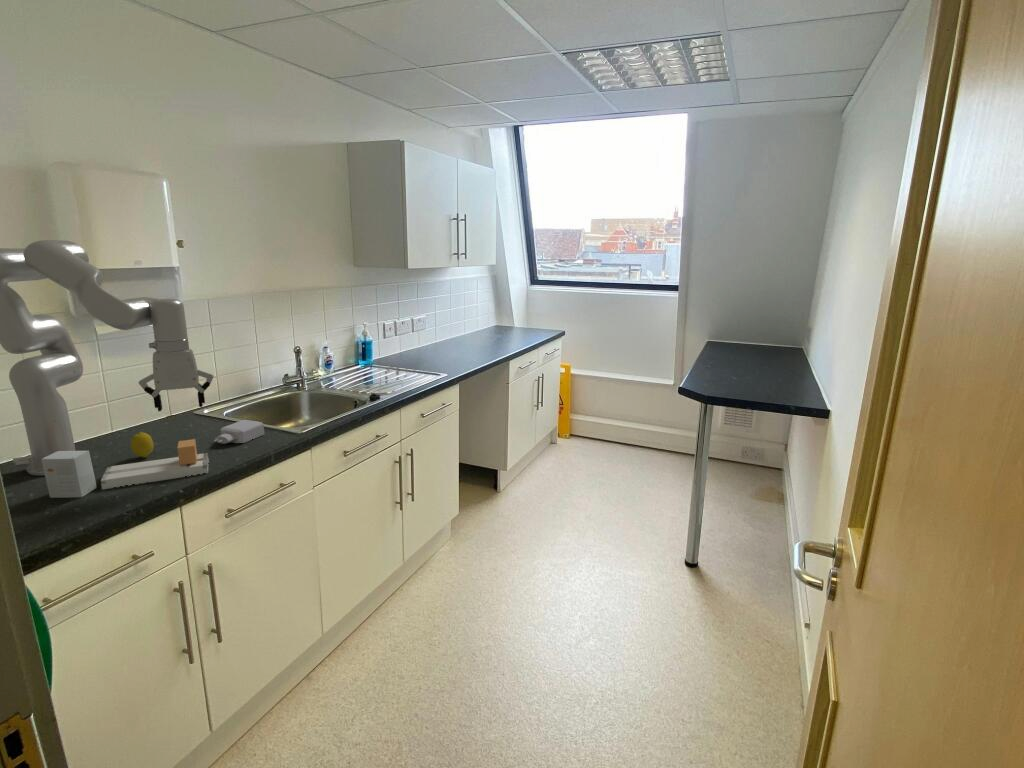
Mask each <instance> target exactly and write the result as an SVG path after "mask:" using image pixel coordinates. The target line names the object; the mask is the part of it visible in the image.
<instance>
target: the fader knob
mask: <svg viewBox="0 0 1024 768" xmlns="http://www.w3.org/2000/svg"><path fill="white" fill-rule="evenodd" d="M176 448H177V457H179V463H180V465H185V464H192V463H197V454H198V450H197V443H196V439H195V438H192V439H187V440H179V441H178V443H177V447H176Z"/></svg>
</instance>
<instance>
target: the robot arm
mask: <svg viewBox="0 0 1024 768" xmlns="http://www.w3.org/2000/svg"><path fill="white" fill-rule="evenodd" d="M89 258H90V257H89V255H88V252H87V251H86V249H84V247H83V246H81V245H80V244H78V243H76V242H74V241H70V240H57V239H56V240H48V239H47V240H37V241H34V242H31V243H29V244H28V245H27V246H26V247H25V248H23V247H22V248H9V247H8V248H4V247H3V248H0V345H1V347H2V348H3V349H4V351H5V352H8V353H10V354H14V355H22V354H28V353H33V352H37V351H39V352H40V353H41V354H40V355H35V356H32V357H27V358H24V359H22V360H19V361H17V362H16V363H14V364H13V365H12V367H11V368H10V369H9V375H8V378H9V382H10V384H11V386H12V389H13V391H14V393H15V394H16V396H17V400H18V402H19V403H18V404H19V406H20V410H21V415H22V418H23V421H24V422H23V424H24V428H25V432H26V436H27V441H28V446H29V449H30V454H28V455H27V456H20V457H13V458H12V464H13V465H14V466H16V467H23V466H27V468H26V471H27V473H28V474H29V475H31V476H45V474H44V470H43V465H42V461H41V459H42V458H44V457H47V456H49V455H51V454H53V453H55V452H57V451H77V450H76V447H75V446H76V445H75V441H74V436H73V430H72V425H71V422H70V421H71V420H70V415H69V411H68V406H67V403H66V401H65V398H64V397H63V396H62V395H61V393H59V392H58V390H57V389H58V388H60V387H63V386H67V385H69V384H72V383H75V382H77V381H79V380H80V378H81V377H82V375H83V373H84V366H83V362H82V359H81V357H80V354H79V352H78V351H77V348H76V346H75V343H74V341H73V339H72V337H71V335H70V333H69V331H68V329H67V327H66V326H65V325H64V323H63V322H62V321H60V320H59V319H58V318H56V317H55V316H53V315H49V314H34V315H33V314H31V312H30V310H29V309H28V307H27V305H26V302H25V301H24V299H23V297H22V296H21V295H20V294H19V293H18V292H17V291H16V290H14V289H13V288H12V287H10V286H9V285H8V284H9V283H12V282H27V281H28V282H30V281H32V282H33V281H40V280H46V279H48V280H51V281H52V282H54V283H55V284H58V286H60V287H63V288H64V289H66V290H68V291H69V292H71V293H72V294H74V295H76V297H77V300H78V302H79V303H80V305H81V306H82V308H83V309H84V310H85V311H86V312H87V313H88V314H89V315H90V316H92V317H94V318H95V319H96V320H99V321H100V322H101V323H103V324H106V325H107V326H110V327H112V328H114V329H117V330H121V331H122V330H123V331H127V330H129V331H130V330H134V329H138V328H139V329H140V328H143V327H148V326H152V330H153V337H154V341H153V342H149V343H148V348H149V349H154V350H155V351H154V352H153V353H152V373H151V374H149V375H148V376H145V377H144V378H142V379H140V380H139V381H138V384H139V386H140V387H141V388H142V389H143V391H144V393H147V394H148V395H150V396H151V397H152V398H153V403H154V408H155V409H157V411H158V412H162V410H163V403H162V395H161V393H160V392H161V391H171V390H173V391H175V390H181V389H184V390H185V389H192V388H194V389H195V390H196V391H197V398H198V407H199V408H203V406H204V405H203V404H205V403H206V400H205V392H206V390H207V389H208V388H209V387H210V386H211V384H212V382H213V379H214V375H213V374H211V373H208V372H206V371H203V370H199V369H198V366H197V362H196V357H195V354H194V350H193V349H190V343H189V338H188V337H189V336H188V330H187V329H188V328H187V322H186V313H185V308H184V306H185V305H184V303H183V301H181V299H177V298H161V299H160V298H155V297H148V296H146V297H145V296H144V297H143V296H142V297H133V298H125V299H120V298H118V297H116V296H114V295H113V294H111V293H109V292H108V291H106V290H105V289H103V288H101V287H102V284H103V281H104V275H103V272H102V270H101V269H99V268H98V267H96V266H95V265H93V264H91V263H89V261H90V259H89ZM199 377H201V378H204V379H206V380H205V382H204V383H203V384H201V383H200V382H199V379H200V378H199ZM151 381H153V382H154V384H153V385H154V388H152V387H151V386H149V384H148V383H149V382H151Z"/></svg>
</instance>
